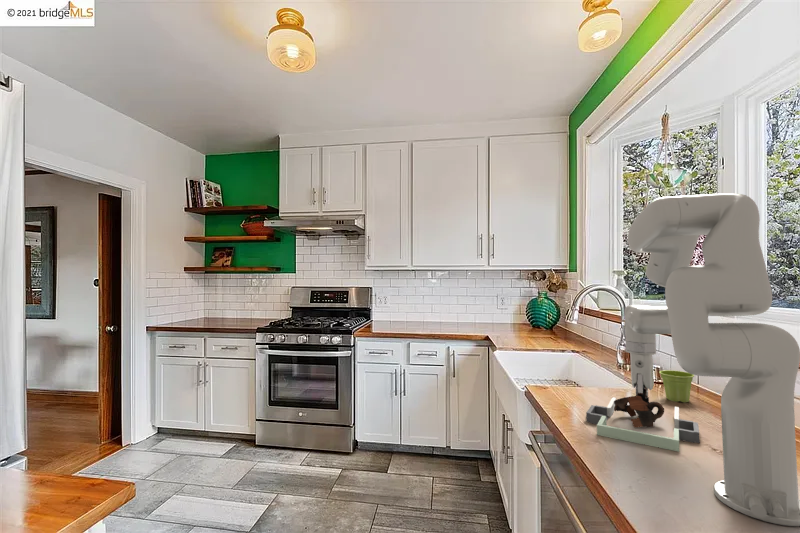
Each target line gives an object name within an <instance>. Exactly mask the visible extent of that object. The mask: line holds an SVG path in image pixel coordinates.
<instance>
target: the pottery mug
mask: <svg viewBox="0 0 800 533" xmlns="http://www.w3.org/2000/svg"><path fill="white" fill-rule="evenodd" d="M614 404H615V407H614V412H623V413H627V414H628V415H629V416H630V418H631V419H630V421H631V424H632V426H633V428H634V429H635V428H642V427H643V428H645V427H646V428H654V427H655V426H654V423H655V422H656V421H657V420H658V419H660V418H663V415H664V413H665V408H664V407H663V404H662V403H660V402H658V401H649V402H645V401H643V400H642V397H641V396H636V395H632V396H626V397H625V396H624V397H622V398H621V397H620V398H618V399H617V398H616V400H615V401H614ZM654 408H657V411H656V413H654V412H653V410H654ZM636 415H637V417H635V416H636ZM633 417H635V418H633Z"/></svg>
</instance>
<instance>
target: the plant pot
mask: <svg viewBox="0 0 800 533" xmlns="http://www.w3.org/2000/svg"><path fill="white" fill-rule="evenodd" d="M658 373H659V374H660V376H661V378H662V382H663V388H664V393H665V398H666V399H667V400H669V401H671V402H677V403H678V402H681V403H689V402H690V396H691V391H692V390H691V389H692V382H693V378H694V377H695V375H693V374H690V373H688V372H686V371H680V370H671V369H670V370H667V369H666V370H660V371H659V372H658Z"/></svg>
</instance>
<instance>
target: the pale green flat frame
mask: <svg viewBox="0 0 800 533" xmlns="http://www.w3.org/2000/svg"><path fill="white" fill-rule="evenodd" d="M615 400H617V397H615V396H613V397H612V398H611V399H610V400H609V403H608V404H607V406H602V405H597V404H595V405H594V404H593V405H592V404H591V405H590V406H589V407H588V409H587V410H586V413H585V415H586V416H585V417H586V420H585V421H586V422H587V423H590V424H594V425H596V434H597V435H596V436H602V437H605V438H611V439H616V440H620V441H624V442H625V441H626V442H630V443H635V444H640V445H644V444H645V446H650V447H654V448H658V447H659V449H664V450H669V451H675V452H678V453H679V452H680V441H683V442H688V443H689V442H690V443H698V444H700V443H701V442H700V429H699V422H696V421H693V420H687V419H682V418H680V407H679V406H674V412H673V413H674V414H673V415H674V416H673V417H674V419H673V422H674V428H673V437H670V436H663V435H658V434H652V433H648V432H643V431H637V430H631V429H626V428H621V427H616V426H610V425H607V421H608V420H609V418H611V417H612V416H613V413H614V412H615V411H614V407H615V404H614V401H615Z"/></svg>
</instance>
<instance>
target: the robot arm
mask: <svg viewBox="0 0 800 533" xmlns="http://www.w3.org/2000/svg"><path fill="white" fill-rule="evenodd" d="M700 236H705V238H704V240H703V242H702V245H701V252H702V257H703V262H704V265H691V262H692V259H693V256H694V253H695V249H696V246H697V243H698V241H699V238H700ZM627 243H628V246H629V249H630V250H631V251H632V252H634V253H637V254H638V253H639V254H643V253H645V254H646V253H647V254H648V253H650V254H649V259H648V262H647V265H646V269H645V275H646V276H645V277H647V279H648V280H649V281H650V282H652V283H654V284H655V285H658V286H660V287H663V288H665V290H664V296H665V305H666V306H665V305H664V306H663V305H659V306H657V305H655V306H651V305H646V304H630V305H627V306H626V307H625V308H624V332H625V336H624V337H625V352H626V353H629V355H630V376H631V377H630V378H631V386H632V388H635V396H641V397H642V400H643V401H645V402H650V397H649V391H652V390H653V389H654V379H655V378H654V362H653V355H656V354H657V343H656V341H657V340H656V335H671V340H672V346H673V351H674V354H675V358H676V360H677V362H678V365H679V366H680V368H682V369H683V371H684V372H688V373H690V374H693V375H694V376H699V377H714V378H715V377H717V378H719V377H721V378H730V379H729V380H728V382H727V383H726V385H725V386H724V388H723V390H722V393H721V398H720V411H721V414H720V415H721V416H720V417H721V440H722V458H723V460H722V461H723V479H721V480H719V481H716V482H715V483H714V484H713V493H714V495H715V497H717V499H718V500H719V501H720V502H721V503H722V504H724V505H726V506H727V507H729V508H731V509H733V510H735V511H737V512H739V513H741V514H743V515H746V516H748V517H751V518H753V519H757V520H760V521H762V522H767V523H771V524H774V525H781V526H789V527H800V499H799V485H798V484H799V483H798V480H799V479H798V464H797V460H798V458H797V443H796V427H795V426H796V425H795V424H796V422H795V421H796V418H795V387H796V380H797V376H798V373H799V367H800V347H799V346H800V345H799V344H798V341H797V340H796V339H795V337H794V336H793V335H792V334H791V333H790V332H789V331H787V330H785V329H784V328H781V327H779V326H776V325H772V324H767V323H761V322H760V323H759V322H758V323H757V322H756V323H755V322H710V321H709V317H745V316H746V317H747V316H756V315H760V314H764V313H766V312H767V311H769V309H770V308H771V307H772V303H773V293H772V287H771V283H770V278H769V274H768V271H767V270H768V269H767V265H766V263H765V258H764V254H763V250H762V246H761V243H760V211H759V208H758V205H757V204H756V202H755V200H753V199H752V197H750V196H748V195H747V194H743V193H713V194H696V195H675V196H674V195H673V196H662V197H658V198H655V199H654V200H652V201H651V202H650V203H648V204H647V206H646V207H645V208H644V209H643V210H642V211H641V212H640V213H639V214H638V215H637V216H636V217H635V219H634V220H633V222H632V224H631V225H630V227H629V230H628V233H627Z"/></svg>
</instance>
